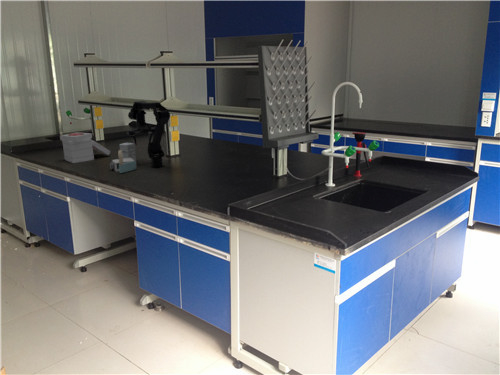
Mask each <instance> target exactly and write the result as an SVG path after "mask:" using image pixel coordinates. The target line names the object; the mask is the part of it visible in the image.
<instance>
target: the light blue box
mask: <svg viewBox="0 0 500 375" xmlns="http://www.w3.org/2000/svg"><path fill="white" fill-rule="evenodd" d="M131 161H134V160H133V159H132V158H124V159H123V163H127V162H131ZM109 168H110V170H114V171H115V172H119V158H116V159H111V162H109Z"/></svg>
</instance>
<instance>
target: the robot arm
mask: <svg viewBox="0 0 500 375" xmlns="http://www.w3.org/2000/svg"><path fill="white" fill-rule="evenodd" d="M147 109H149V110H153V116H154V117H155V121H156V126H155V127H152V125H151V124H149V125H148V124H147V122H146V115H147V112H146V111H145V110H147ZM157 110H158V111H157ZM127 116H128V119H129V120H132V121H133V120H134V121H136V122H135V123H136V130H135V129H127V130H126V135H128V136H130V137H131V138H132V140H133V143H134V144H135V146H137V138H136V134H142V135H143V134H148V135H147V137H148V144H147V151H146V152H147V154H148V158H149V159H151V165H150V167H151V168H156V169H158V168H161V167H164V166H165V165H164V164H163V157H165V152H164V151H163V149H162V145H161V142H162V138H163V133H164V128H165V125H167V124H168V122H169V121H170V118H171V113H170V112H169V110H168V108H166V107H165V106H164V105H162V104H161V102H158V101H157V102H155V101H154V102H147V101H144V100H140V101H134V102H133V104H132V107H131V109H130V110H129V112H128V115H127ZM152 138H153V139H152Z"/></svg>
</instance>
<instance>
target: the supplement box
mask: <svg viewBox="0 0 500 375" xmlns="http://www.w3.org/2000/svg"><path fill="white" fill-rule="evenodd" d="M118 145H119V150H122V155H123V159H124V158H132V159H133V160H134V161H136V162H137V160H136V159H137V158H136V145H135V143H134V142H132V143H131V142H123V143H120V144H118Z"/></svg>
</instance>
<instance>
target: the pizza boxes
mask: <svg viewBox="0 0 500 375" xmlns="http://www.w3.org/2000/svg"><path fill="white" fill-rule="evenodd" d="M59 138H60V139H59V140H60V141H61V142H62V147H63V155H64V156H63V157H64V160H65V161H67V162H69V163H72V164H76V163H83V162H89V161H94V160H95V156H94V150H95V151H97V152H99V153H100V154H104V155H107V156H109V155H110V153H112V152H111V150H109V149H108V148H106V147H104V146H103V145H101V144H100V143H98V142H97V141H95V140H93V133H90V132H89V133H88V132H76V131H75V132H71V133H67V134H61V135H59Z"/></svg>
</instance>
